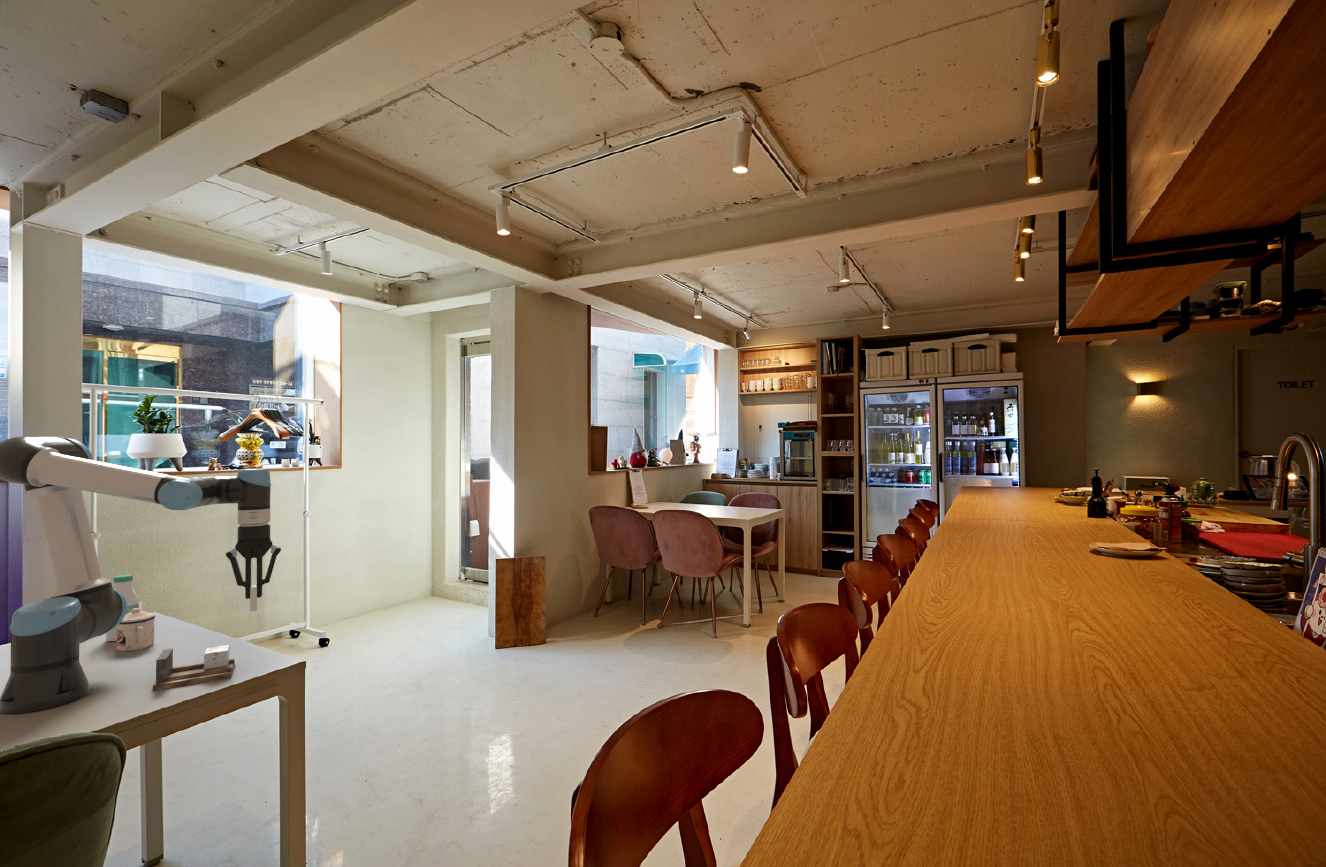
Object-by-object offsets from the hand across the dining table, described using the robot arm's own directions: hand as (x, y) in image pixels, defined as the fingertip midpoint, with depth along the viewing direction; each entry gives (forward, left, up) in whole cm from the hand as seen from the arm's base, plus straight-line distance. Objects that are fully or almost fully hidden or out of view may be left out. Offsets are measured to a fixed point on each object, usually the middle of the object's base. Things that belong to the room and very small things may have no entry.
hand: (253, 609), depth 166 cm
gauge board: (-13, 0, -16) cm, 20 cm away
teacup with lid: (-32, +39, -16) cm, 52 cm away
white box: (-8, -2, -14) cm, 17 cm away
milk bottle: (-38, +53, -16) cm, 67 cm away
